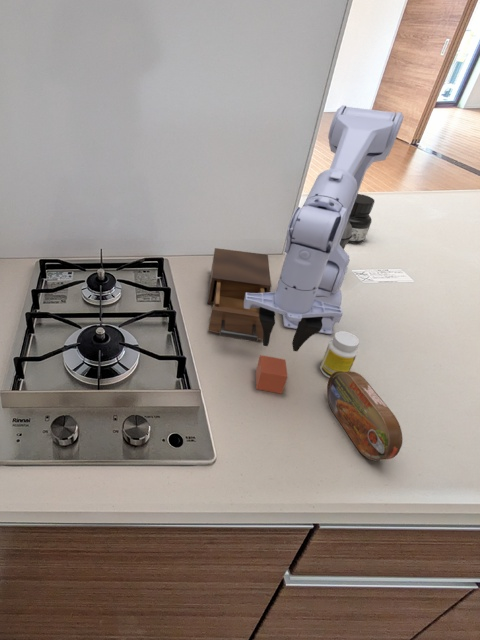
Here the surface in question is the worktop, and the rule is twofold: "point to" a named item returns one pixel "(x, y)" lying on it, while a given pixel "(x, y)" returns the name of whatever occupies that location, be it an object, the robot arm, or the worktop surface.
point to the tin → (364, 416)
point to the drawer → (235, 312)
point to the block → (271, 374)
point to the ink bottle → (360, 218)
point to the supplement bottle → (340, 353)
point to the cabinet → (239, 270)
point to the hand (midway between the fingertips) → (279, 344)
